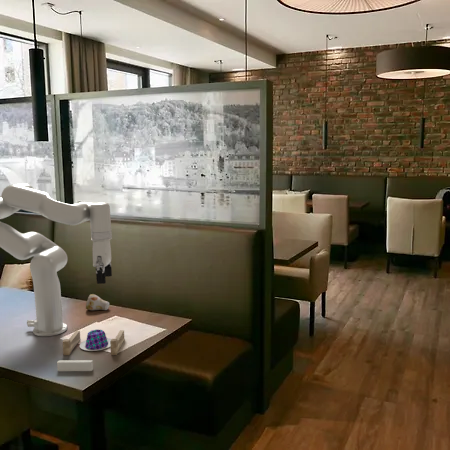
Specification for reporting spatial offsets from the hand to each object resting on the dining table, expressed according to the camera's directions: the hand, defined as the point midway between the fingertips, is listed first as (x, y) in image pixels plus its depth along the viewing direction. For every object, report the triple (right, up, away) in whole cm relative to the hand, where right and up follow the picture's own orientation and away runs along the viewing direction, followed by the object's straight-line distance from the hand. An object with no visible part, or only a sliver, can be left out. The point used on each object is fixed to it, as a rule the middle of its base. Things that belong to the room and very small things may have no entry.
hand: (104, 279), depth 184 cm
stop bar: (-2, -26, -28) cm, 38 cm away
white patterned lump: (-10, -17, +29) cm, 35 cm away
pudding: (-1, -23, -8) cm, 25 cm away
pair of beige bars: (-1, -23, -10) cm, 25 cm away
